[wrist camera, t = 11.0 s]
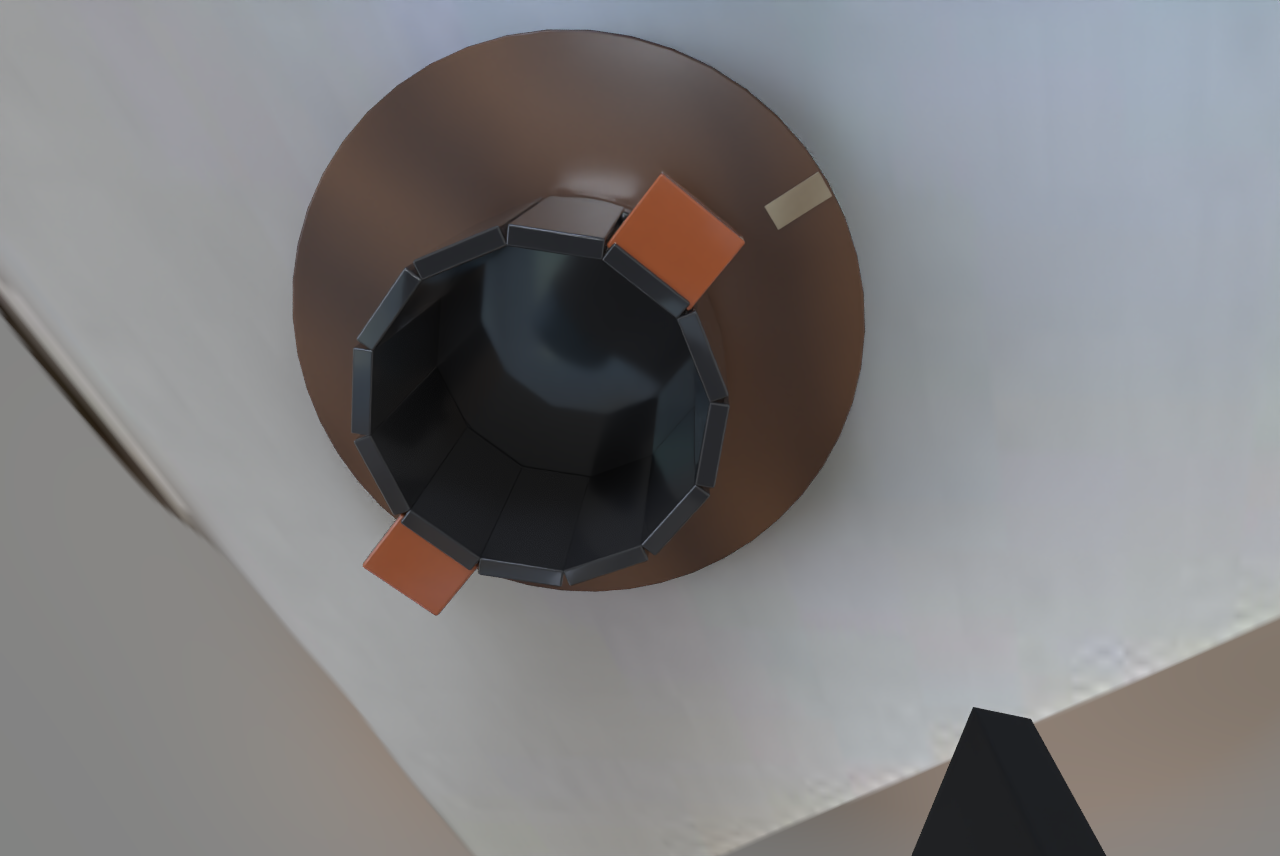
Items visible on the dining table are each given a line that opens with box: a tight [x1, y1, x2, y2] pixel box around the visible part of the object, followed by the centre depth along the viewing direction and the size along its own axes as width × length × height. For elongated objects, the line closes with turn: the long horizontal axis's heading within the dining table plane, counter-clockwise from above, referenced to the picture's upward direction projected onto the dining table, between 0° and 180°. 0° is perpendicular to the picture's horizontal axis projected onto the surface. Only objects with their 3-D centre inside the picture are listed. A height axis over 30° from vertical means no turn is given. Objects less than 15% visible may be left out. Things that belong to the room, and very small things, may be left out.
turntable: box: [293, 30, 865, 592], centre depth 28 cm, size 18×18×2 cm
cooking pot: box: [351, 171, 745, 616], centre depth 24 cm, size 9×13×7 cm
